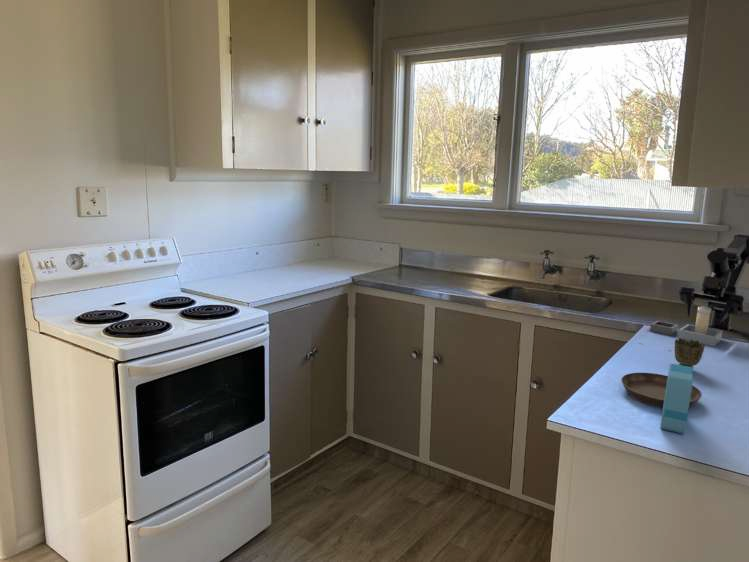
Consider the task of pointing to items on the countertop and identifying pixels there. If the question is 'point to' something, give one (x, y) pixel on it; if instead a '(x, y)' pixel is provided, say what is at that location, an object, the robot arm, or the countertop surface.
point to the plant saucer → (652, 388)
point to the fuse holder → (664, 328)
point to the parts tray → (700, 335)
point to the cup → (688, 352)
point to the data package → (677, 398)
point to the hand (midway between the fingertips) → (703, 319)
